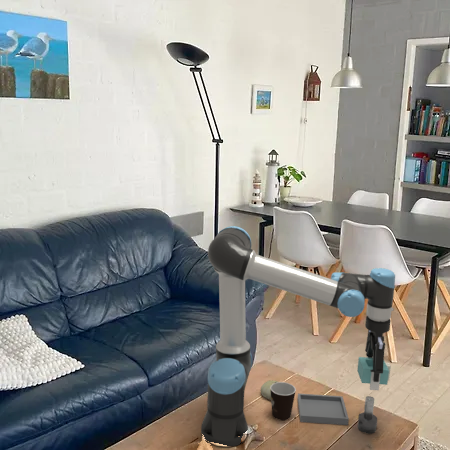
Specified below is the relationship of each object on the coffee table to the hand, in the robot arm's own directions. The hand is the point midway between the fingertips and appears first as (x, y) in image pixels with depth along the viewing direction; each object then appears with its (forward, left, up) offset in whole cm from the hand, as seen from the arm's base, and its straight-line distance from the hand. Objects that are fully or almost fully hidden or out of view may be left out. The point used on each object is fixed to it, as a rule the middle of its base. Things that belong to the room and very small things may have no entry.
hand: (371, 382), depth 172 cm
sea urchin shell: (-31, +17, -17) cm, 39 cm away
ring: (0, 0, +2) cm, 2 cm away
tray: (-14, +8, -17) cm, 23 cm away
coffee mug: (-28, +6, -17) cm, 33 cm away
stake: (0, 0, -17) cm, 17 cm away
